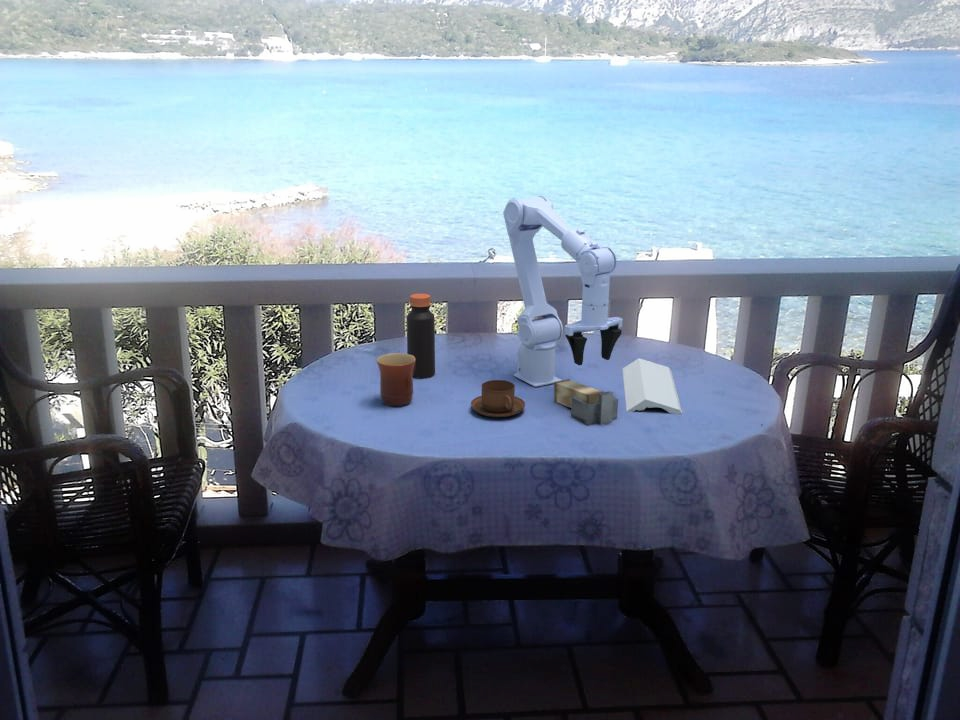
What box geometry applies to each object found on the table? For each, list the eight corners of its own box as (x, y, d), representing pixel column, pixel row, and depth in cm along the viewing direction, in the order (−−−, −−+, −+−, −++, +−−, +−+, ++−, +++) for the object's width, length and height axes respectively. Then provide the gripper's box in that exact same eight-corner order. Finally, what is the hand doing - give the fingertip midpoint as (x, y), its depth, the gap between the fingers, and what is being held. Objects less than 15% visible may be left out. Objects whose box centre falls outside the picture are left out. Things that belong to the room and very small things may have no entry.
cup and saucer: (535, 411, 197) (536, 385, 195) (498, 426, 189) (499, 399, 187) (496, 397, 205) (497, 372, 203) (459, 411, 197) (459, 385, 195)
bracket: (571, 416, 194) (572, 386, 192) (600, 409, 198) (601, 380, 196) (591, 427, 188) (592, 397, 186) (620, 420, 192) (622, 390, 190)
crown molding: (682, 416, 196) (683, 401, 195) (626, 413, 197) (627, 398, 196) (670, 373, 223) (671, 359, 222) (621, 371, 225) (622, 357, 224)
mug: (403, 411, 196) (402, 367, 193) (370, 404, 200) (368, 361, 196) (430, 394, 206) (429, 352, 203) (397, 388, 210) (396, 347, 207)
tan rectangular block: (554, 401, 203) (553, 381, 201) (568, 398, 205) (568, 378, 203) (589, 415, 192) (588, 394, 191) (604, 411, 194) (604, 391, 193)
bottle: (436, 369, 222) (435, 292, 216) (434, 379, 216) (433, 299, 210) (409, 369, 223) (407, 292, 216) (406, 378, 216) (404, 299, 210)
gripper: (579, 311, 188) (576, 371, 192) (632, 303, 195) (628, 361, 199) (560, 303, 194) (557, 362, 198) (612, 295, 201) (609, 352, 205)
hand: (591, 361), depth 199 cm, fingers open, 7 cm apart
